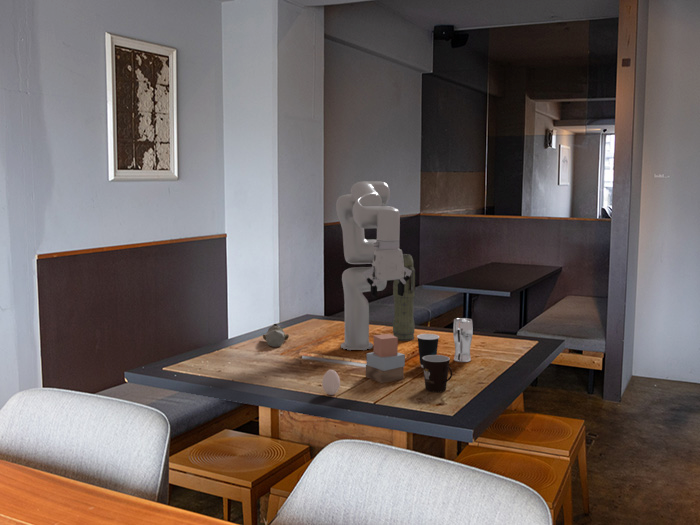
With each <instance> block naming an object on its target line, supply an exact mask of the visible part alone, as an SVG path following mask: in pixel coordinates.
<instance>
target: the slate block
mask: <svg viewBox="0 0 700 525" xmlns="http://www.w3.org/2000/svg"><path fill="white" fill-rule="evenodd" d="M405 355H406V354H404V353H401V352H398V355H397V356H387V357H380V356H378V355H376V354H374V351H372V352H368V353H367V352H366V365H368V366H371V367H374V368H377V369H380V370H383V371H386V370H390V369H395V368H399V367H405V366H406V365H405V364H406V363H405V362H406V358H405V357H406V356H405Z"/></svg>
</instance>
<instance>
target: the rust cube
mask: <svg viewBox="0 0 700 525" xmlns="http://www.w3.org/2000/svg"><path fill="white" fill-rule="evenodd" d="M398 341H399V340H398V338H397V337H395V336H393V334H391V333H386V334H375V335H374V334H373V352H374V354H376V355H378V356H380V357H387V356H397V355H398V353H399V352H398V346H399V344H398V343H399V342H398Z"/></svg>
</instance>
